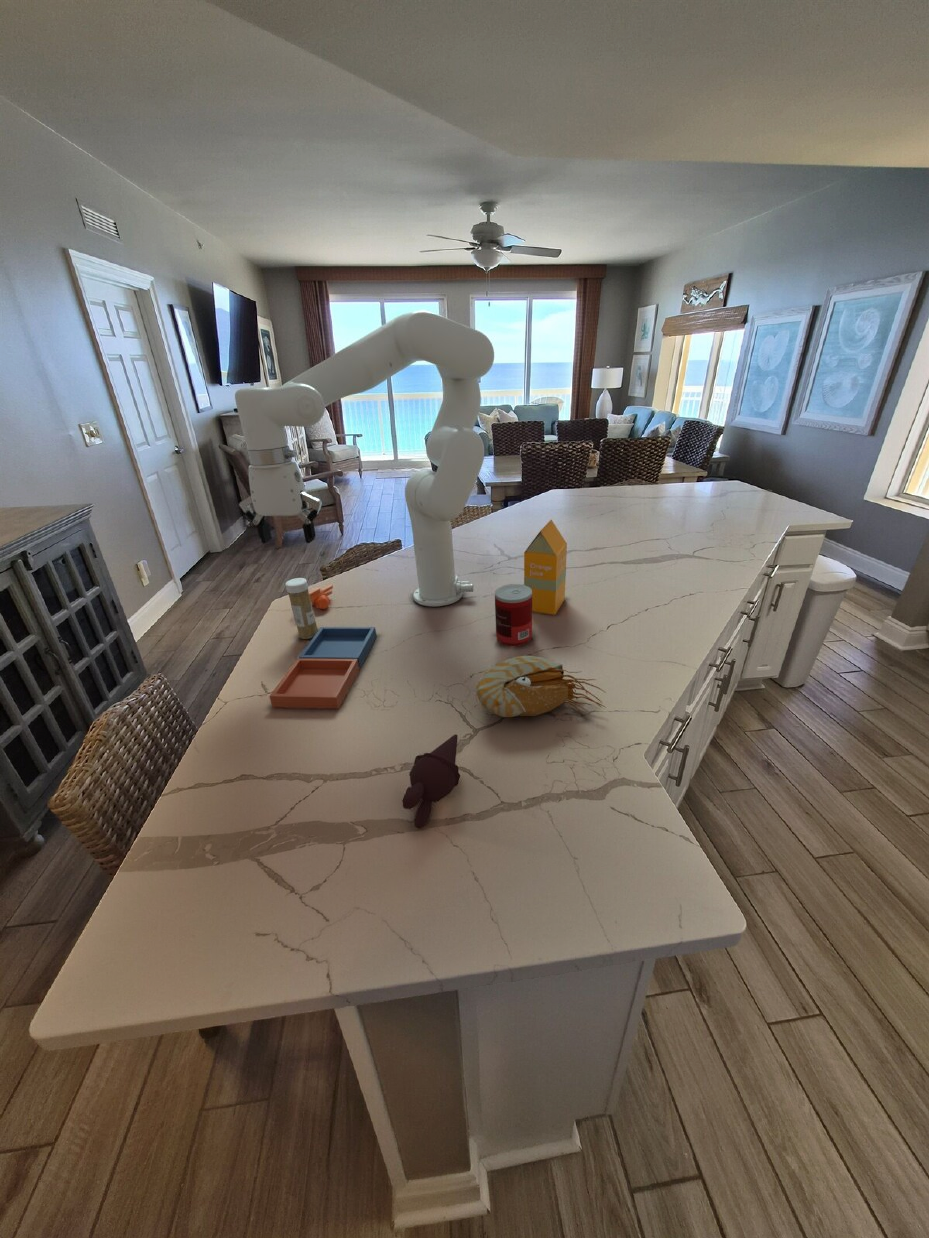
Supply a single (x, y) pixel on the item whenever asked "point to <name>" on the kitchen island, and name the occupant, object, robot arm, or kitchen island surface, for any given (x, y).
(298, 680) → the terracotta tray
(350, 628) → the slate tray
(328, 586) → the orange toy motorcycle
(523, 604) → the canned food
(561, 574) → the orange juice
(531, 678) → the nautilus
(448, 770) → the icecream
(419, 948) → the kitchen island surface
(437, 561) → the robot arm
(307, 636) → the sprinkles bottle
